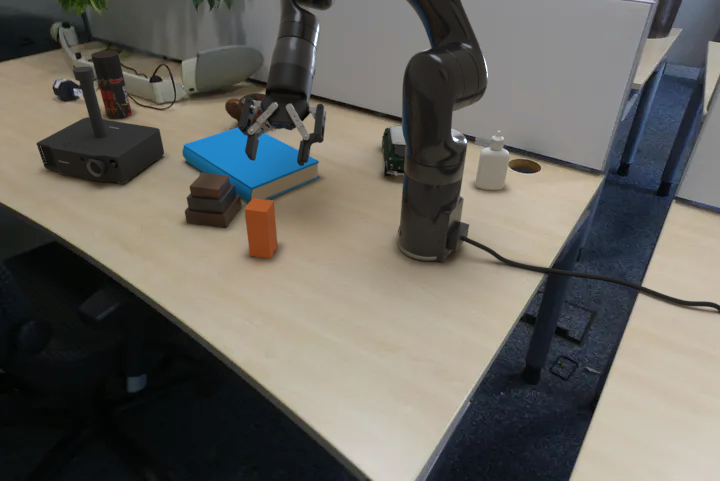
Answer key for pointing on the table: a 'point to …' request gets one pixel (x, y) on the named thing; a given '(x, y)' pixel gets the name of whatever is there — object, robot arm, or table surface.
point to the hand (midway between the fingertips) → (275, 161)
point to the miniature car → (393, 151)
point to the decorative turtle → (236, 106)
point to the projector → (100, 143)
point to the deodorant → (111, 84)
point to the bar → (261, 227)
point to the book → (251, 164)
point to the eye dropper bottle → (493, 165)
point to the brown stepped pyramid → (212, 201)
